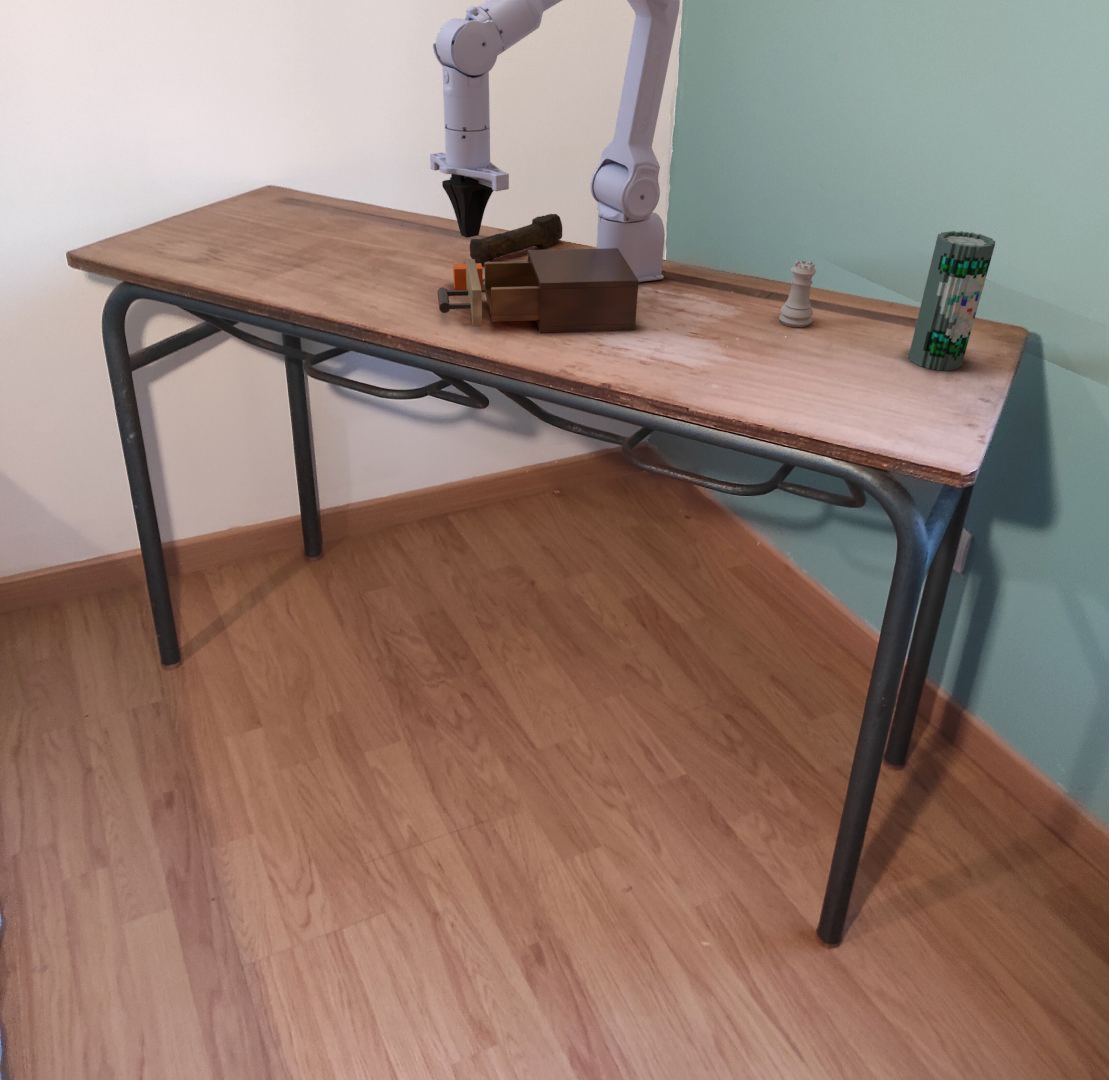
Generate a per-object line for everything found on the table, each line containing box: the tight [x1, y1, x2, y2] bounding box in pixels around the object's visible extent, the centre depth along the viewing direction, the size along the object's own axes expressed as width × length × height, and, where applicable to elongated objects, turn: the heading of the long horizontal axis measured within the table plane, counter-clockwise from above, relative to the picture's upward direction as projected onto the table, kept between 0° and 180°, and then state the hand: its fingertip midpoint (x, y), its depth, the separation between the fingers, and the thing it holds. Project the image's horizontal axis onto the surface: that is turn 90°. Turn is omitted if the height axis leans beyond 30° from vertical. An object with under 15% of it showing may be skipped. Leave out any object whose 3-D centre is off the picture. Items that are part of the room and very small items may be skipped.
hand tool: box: [469, 213, 563, 266], centre depth 151 cm, size 19×4×5 cm, turn 134°
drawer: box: [436, 258, 540, 327], centre depth 127 cm, size 16×12×5 cm
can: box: [907, 230, 996, 372], centre depth 115 cm, size 6×6×15 cm
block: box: [452, 263, 485, 292], centre depth 137 cm, size 6×2×3 cm, turn 98°
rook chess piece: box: [778, 259, 817, 328], centre depth 127 cm, size 4×4×8 cm
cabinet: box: [527, 248, 640, 334], centre depth 129 cm, size 13×14×7 cm
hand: (470, 235), depth 129 cm, fingers closed
